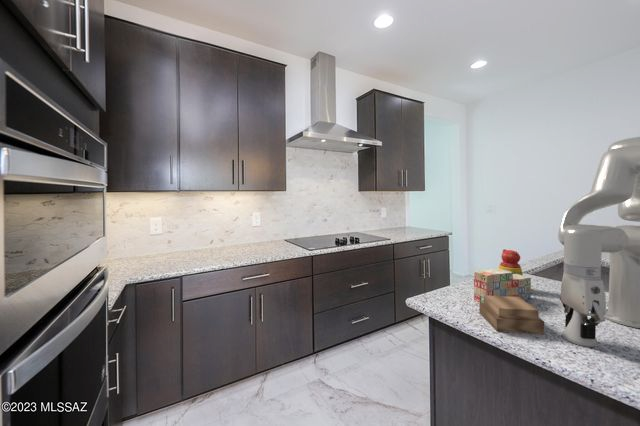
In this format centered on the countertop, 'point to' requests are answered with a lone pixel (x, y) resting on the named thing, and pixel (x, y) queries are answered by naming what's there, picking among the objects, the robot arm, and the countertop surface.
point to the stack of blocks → (501, 284)
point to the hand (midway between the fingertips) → (579, 332)
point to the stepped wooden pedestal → (511, 315)
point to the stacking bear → (510, 262)
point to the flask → (577, 331)
